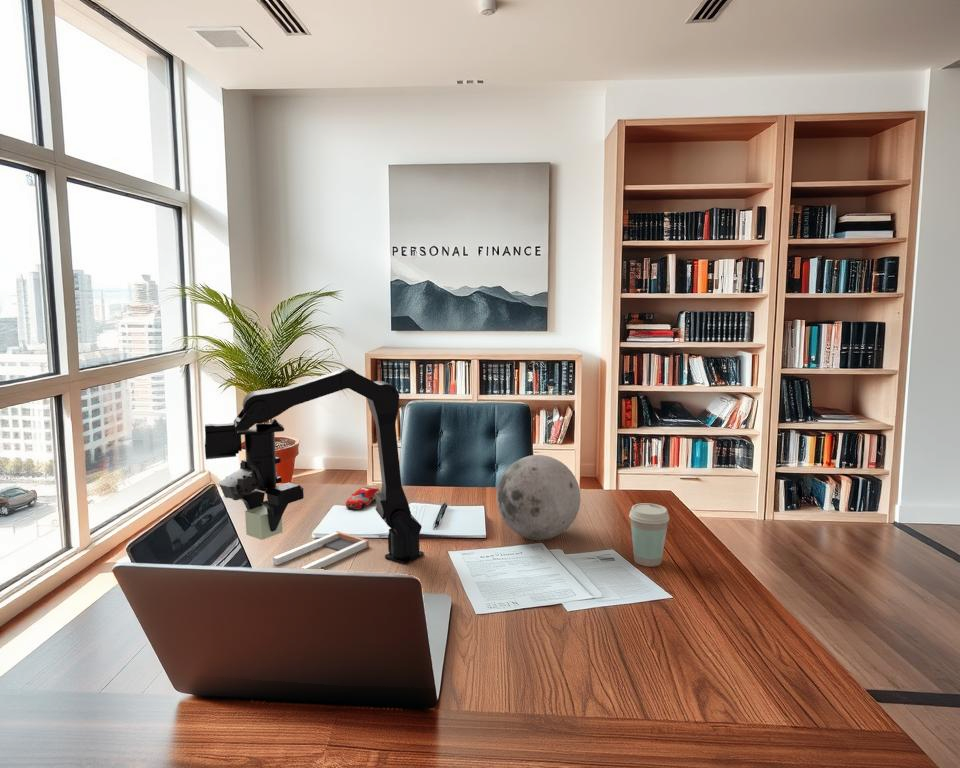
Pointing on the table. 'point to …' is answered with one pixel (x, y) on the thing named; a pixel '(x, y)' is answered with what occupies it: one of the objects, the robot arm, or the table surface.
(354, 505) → the race car
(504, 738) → the table surface
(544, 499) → the moon model
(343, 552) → the channel
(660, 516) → the coffee cup
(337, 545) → the grey and orange drawer
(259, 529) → the block
